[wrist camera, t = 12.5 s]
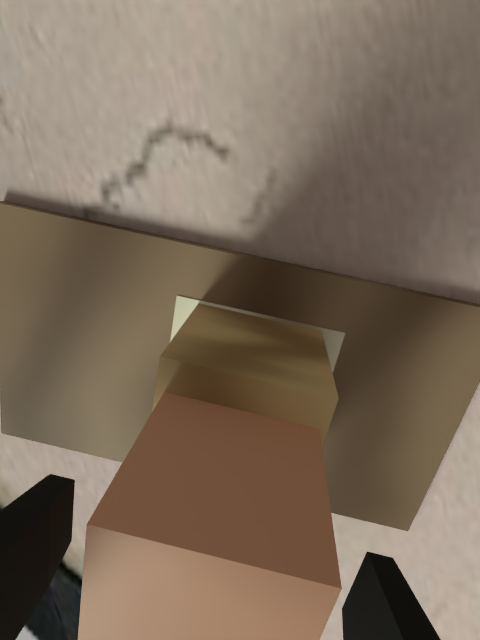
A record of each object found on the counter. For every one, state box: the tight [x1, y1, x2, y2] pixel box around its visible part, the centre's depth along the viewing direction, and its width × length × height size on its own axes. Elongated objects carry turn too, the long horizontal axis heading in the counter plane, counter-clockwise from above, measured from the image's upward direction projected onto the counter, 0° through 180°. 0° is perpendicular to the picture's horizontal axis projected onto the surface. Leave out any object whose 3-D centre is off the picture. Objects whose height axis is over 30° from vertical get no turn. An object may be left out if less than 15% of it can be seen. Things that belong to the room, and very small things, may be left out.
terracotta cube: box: [78, 392, 342, 640], centre depth 9 cm, size 4×4×4 cm
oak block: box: [152, 303, 339, 446], centre depth 14 cm, size 5×7×5 cm
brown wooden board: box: [0, 201, 480, 531], centre depth 16 cm, size 20×11×1 cm, turn 79°
